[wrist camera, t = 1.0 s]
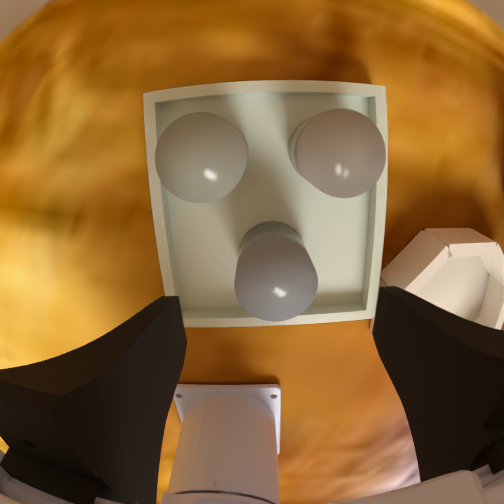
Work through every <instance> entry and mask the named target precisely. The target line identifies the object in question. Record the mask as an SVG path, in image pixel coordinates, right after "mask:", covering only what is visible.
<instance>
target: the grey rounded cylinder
mask: <svg viewBox="0 0 504 504" xmlns="http://www.w3.org/2000/svg"><path fill="white" fill-rule="evenodd" d="M234 289H235V294H236V297H237V300H238V302H239V303H240V305H241V306H242V307H243V308H244V310H246V311H247V312H248V313H249V314H251V315H252V316H254V317H256V318H258V319H261V320H265V321H272V322H278V321H285V320H288V319H291V318H294V317H296V316H298V315H299V314H301V313H302V312H304V311H305V310H306V309H307V308H308V307H309V306H310V304H311V303H312V301H313V300H314V298H315V296H316V293H317V289H318V276H317V272H316V269H315V267H314V265H313V263H312V260H311V258H310V256H309V254H308V251H307V249H306V247H305V245H304V243H303V240H302V238H301V237H300V235H299V234H298V232H297V231H296V230H295V229H293V228H292V227H291V226H289V225H287V224H285V223H282V222H277V221H268V222H263V223H260V224H258V225H256V226H254V227H252V228H251V229H250V230H249V231H248V232H247V233H246V234H245V235H244V237H243V238H242V240H241V243H240V246H239V253H238V260H237V267H236V274H235V281H234Z"/></svg>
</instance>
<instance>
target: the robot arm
mask: <svg viewBox="0 0 504 504" xmlns="http://www.w3.org/2000/svg"><path fill="white" fill-rule="evenodd" d="M372 335H373V338H374V341H375V345H376V348H377V351H378V353H379V356H380V358H381V360H382V362H383V364H384V366H385V368H386V371H387V373H388V375H389V377H390V379H391V381H392V383H393V385H394V387H395V389H396V391H397V393H398V395H399V397H400V400H401V402H402V404H403V407H404V410H405V413H406V416H407V420H408V423H409V426H410V430H411V434H412V438H413V442H414V446H415V450H416V456H417V461H418V467H419V473H420V481H421V483H417V484H414V485H411V486H407V487H404V488H400V489H397V490H393V491H389V492H385V493H381V494H377V495H372V496H368V497H363V498H358V499H352V500H347V501H341V502H334V503H327V504H504V331H503V330H499V329H495V328H491V327H488V326H484V325H481V324H478V323H476V322H473V321H470V320H467V319H465V318H462V317H460V316H457V315H455V314H453V313H451V312H449V311H446V310H444V309H442V308H440V307H438V306H436V305H434V304H432V303H430V302H428V301H426V300H424V299H422V298H420V297H418V296H416V295H414V294H412V293H410V292H408V291H406V290H404V289H402V288H399V287H397V286H385V287H379V294H378V301H377V307H376V314H375V320H374V325H373V331H372ZM186 347H187V339H186V334H185V329H184V323H183V318H182V312H181V306H180V300H179V296H162V297H160V298H158V299H157V300H155V301H154V302H152V303H151V304H149V305H148V306H147V307H145V308H144V309H142V310H141V311H140V312H138V313H137V314H135V315H134V316H133V317H131V318H130V319H128V320H127V321H125V322H124V323H122V324H121V325H119V326H118V327H116V328H114V329H113V330H111V331H110V332H108V333H107V334H105V335H103V336H101V337H100V338H98V339H96V340H94V341H92V342H90V343H88V344H86V345H84V346H82V347H79V348H77V349H75V350H72V351H70V352H67V353H65V354H62V355H60V356H57V357H54V358H51V359H48V360H44V361H41V362H37V363H33V364H29V365H24V366H19V367H13V368H7V369H0V436H1V438H2V439H3V440H4V441H5V443H6V444H7V445H8V446H9V449H8V451H7V452H6V454H5V453H4V452H2V451H1V450H0V504H156V497H157V482H158V472H159V462H160V455H161V448H162V441H163V435H164V429H165V424H166V419H167V415H168V412H169V409H170V405H171V402H172V399H173V398H174V401H175V404H176V408H177V411H178V414H179V417H180V420H181V423H182V427H181V431H180V435H179V440H178V445H177V449H176V454H175V458H174V463H173V468H172V472H171V477H170V482H169V487H168V492H163V495H162V500H161V504H280V496H279V476H278V458H277V455H278V454H279V452H280V417H281V387H280V386H279V385H278V384H256V385H196V384H178V381H179V377H180V374H181V371H182V368H183V364H184V359H185V353H186ZM179 394H181V395H179ZM272 394H276V395H272Z"/></svg>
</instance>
